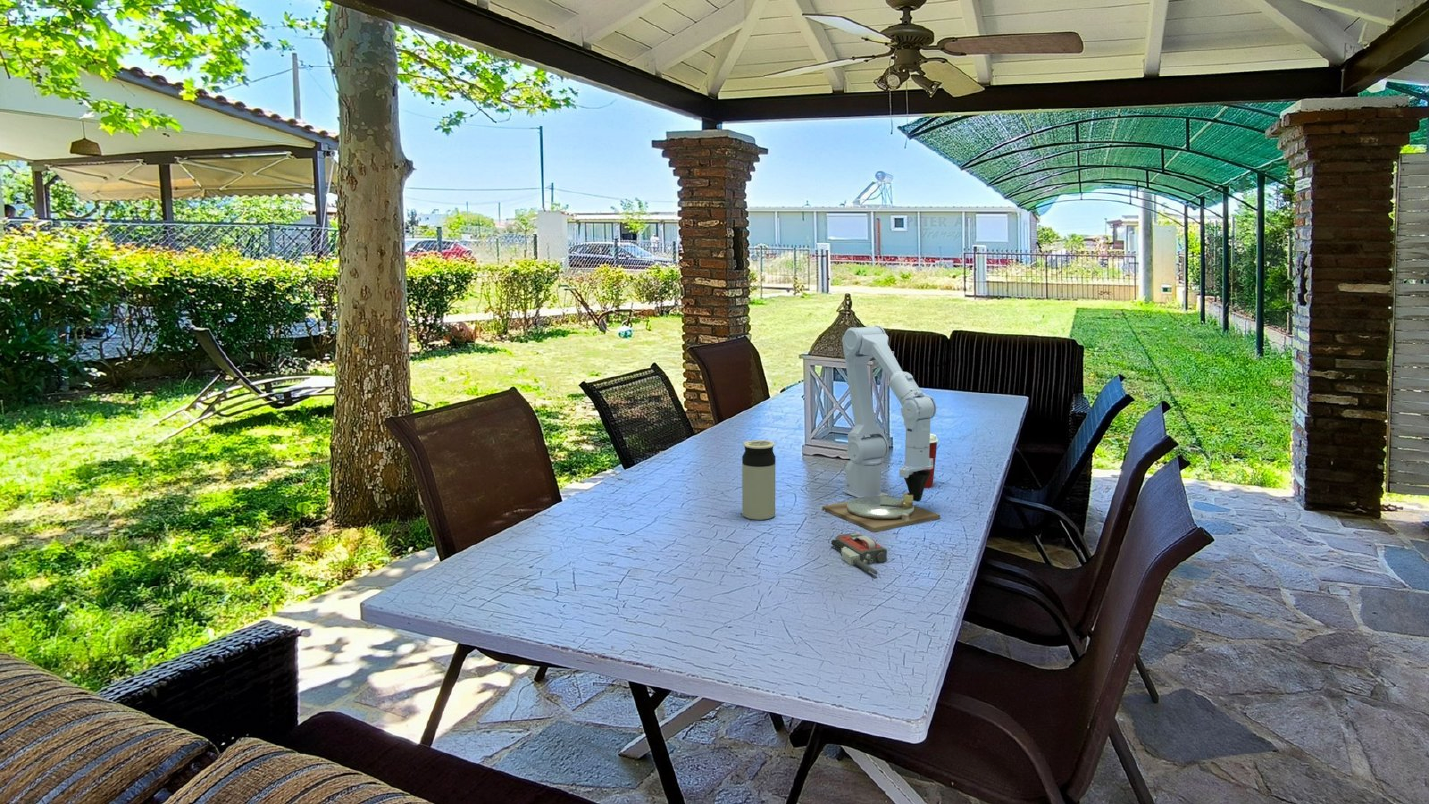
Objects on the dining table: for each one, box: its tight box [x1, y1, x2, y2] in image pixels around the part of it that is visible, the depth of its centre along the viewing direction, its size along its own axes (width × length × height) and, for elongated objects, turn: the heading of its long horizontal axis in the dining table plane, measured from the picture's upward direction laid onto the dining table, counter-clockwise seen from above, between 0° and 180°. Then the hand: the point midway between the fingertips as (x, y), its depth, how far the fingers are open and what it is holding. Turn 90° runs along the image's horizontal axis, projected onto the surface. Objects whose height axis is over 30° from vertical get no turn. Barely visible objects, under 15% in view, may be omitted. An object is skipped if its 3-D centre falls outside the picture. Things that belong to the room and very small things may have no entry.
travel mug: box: [741, 439, 776, 521], centre depth 210 cm, size 8×8×18 cm
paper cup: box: [924, 433, 939, 489], centre depth 236 cm, size 8×8×14 cm
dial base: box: [821, 495, 941, 533], centre depth 211 cm, size 20×20×2 cm
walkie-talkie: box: [830, 532, 888, 576], centre depth 181 cm, size 9×4×20 cm
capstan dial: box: [847, 492, 914, 519], centre depth 211 cm, size 16×16×4 cm
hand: (915, 500), depth 213 cm, fingers closed
